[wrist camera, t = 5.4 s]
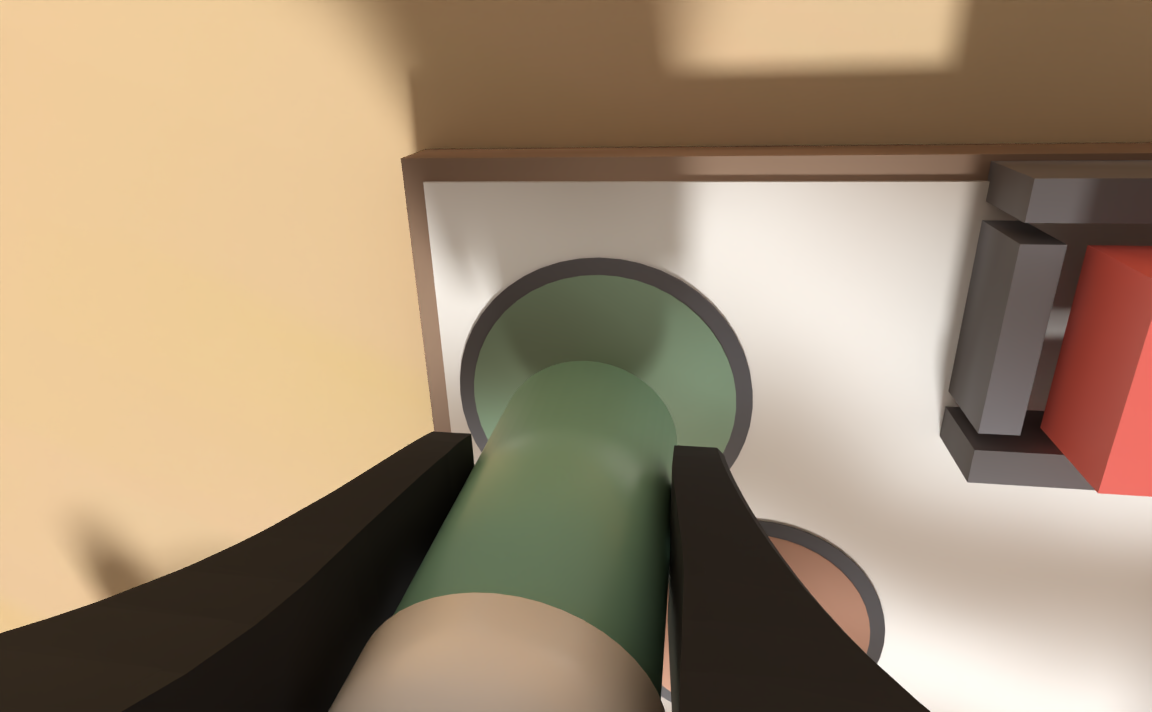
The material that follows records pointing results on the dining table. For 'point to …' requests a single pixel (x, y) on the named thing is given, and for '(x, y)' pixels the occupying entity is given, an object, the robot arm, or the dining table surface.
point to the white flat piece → (832, 373)
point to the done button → (1107, 373)
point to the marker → (541, 564)
